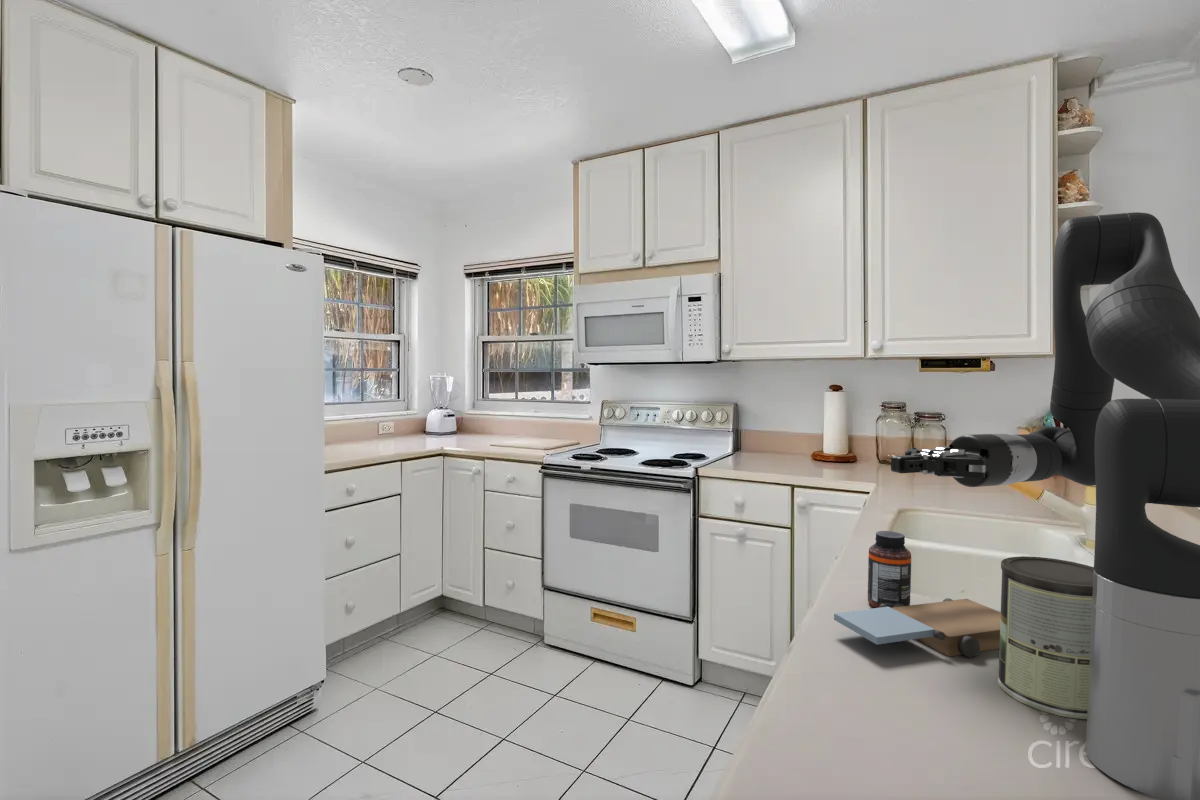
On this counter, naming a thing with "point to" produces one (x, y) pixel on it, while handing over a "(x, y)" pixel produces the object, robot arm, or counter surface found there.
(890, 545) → the supplement bottle
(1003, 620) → the coffee can
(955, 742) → the counter surface
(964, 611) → the flatbed
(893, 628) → the panel
